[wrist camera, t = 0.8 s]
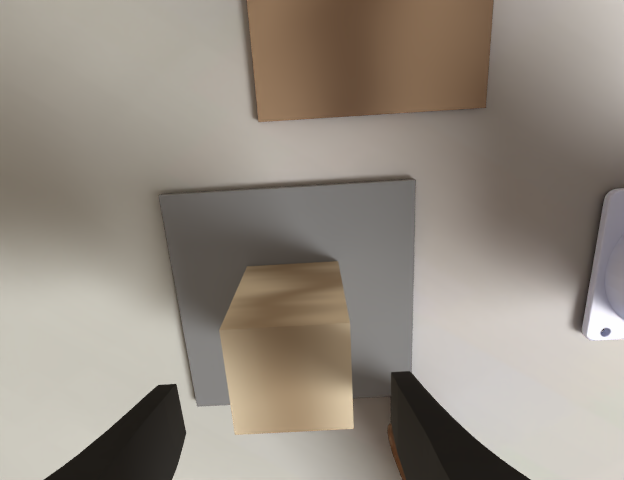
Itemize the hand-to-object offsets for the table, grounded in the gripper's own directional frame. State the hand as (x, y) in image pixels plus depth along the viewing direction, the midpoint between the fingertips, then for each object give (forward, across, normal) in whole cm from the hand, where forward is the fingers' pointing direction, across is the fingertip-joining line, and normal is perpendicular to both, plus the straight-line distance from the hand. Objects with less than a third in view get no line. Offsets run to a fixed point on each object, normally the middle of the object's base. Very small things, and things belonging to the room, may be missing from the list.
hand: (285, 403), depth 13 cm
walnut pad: (+8, -4, -14) cm, 16 cm away
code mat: (+8, 0, 0) cm, 8 cm away
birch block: (+7, 0, 0) cm, 7 cm away
